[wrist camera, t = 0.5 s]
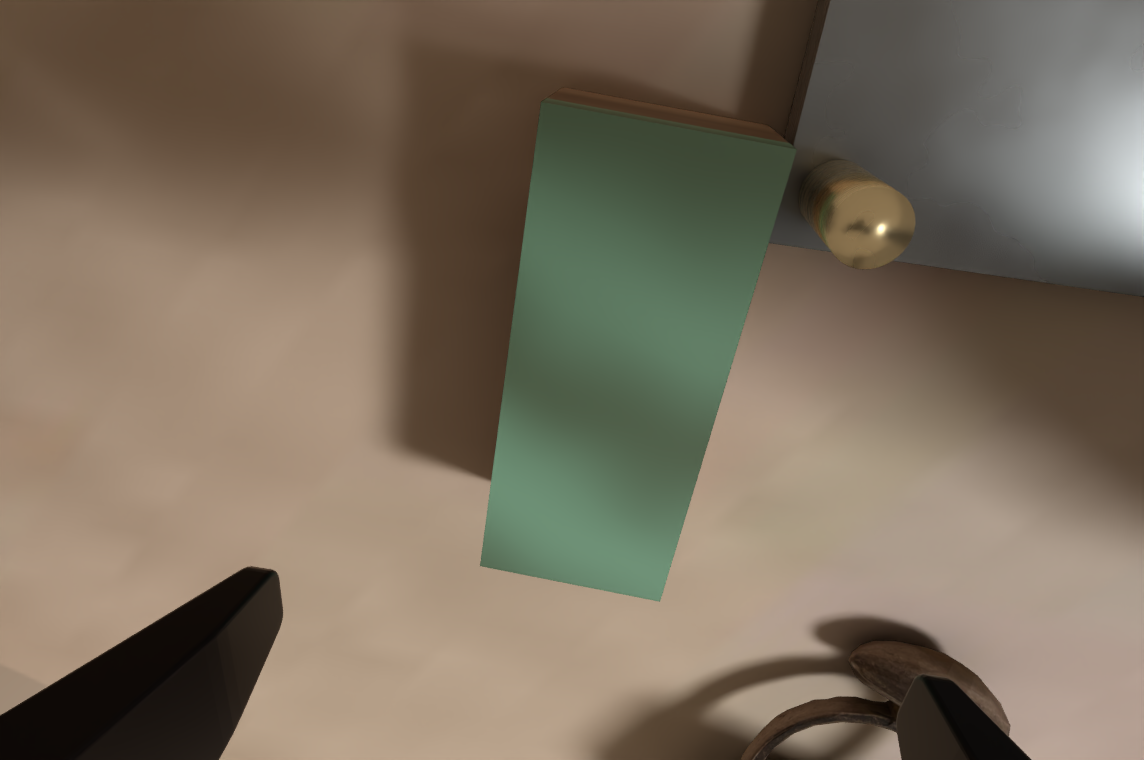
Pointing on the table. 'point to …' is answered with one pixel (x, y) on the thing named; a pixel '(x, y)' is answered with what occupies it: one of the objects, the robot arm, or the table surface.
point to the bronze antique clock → (890, 676)
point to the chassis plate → (973, 139)
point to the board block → (624, 332)
